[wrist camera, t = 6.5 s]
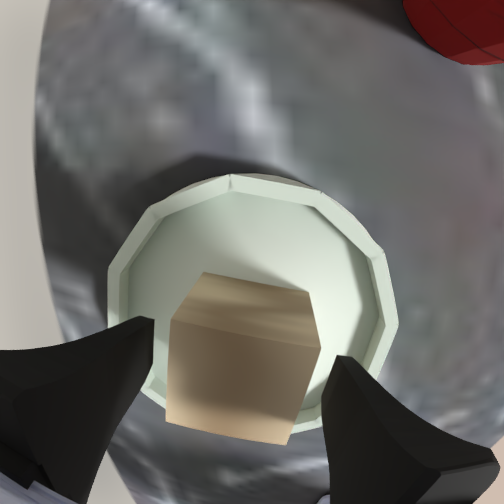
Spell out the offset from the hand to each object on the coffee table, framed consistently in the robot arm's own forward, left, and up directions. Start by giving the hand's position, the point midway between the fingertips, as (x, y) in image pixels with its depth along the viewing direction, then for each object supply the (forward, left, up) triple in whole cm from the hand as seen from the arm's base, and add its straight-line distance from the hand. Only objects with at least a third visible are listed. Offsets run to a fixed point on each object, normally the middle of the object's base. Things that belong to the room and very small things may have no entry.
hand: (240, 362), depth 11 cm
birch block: (0, 0, -3) cm, 3 cm away
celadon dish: (0, 0, -4) cm, 4 cm away
